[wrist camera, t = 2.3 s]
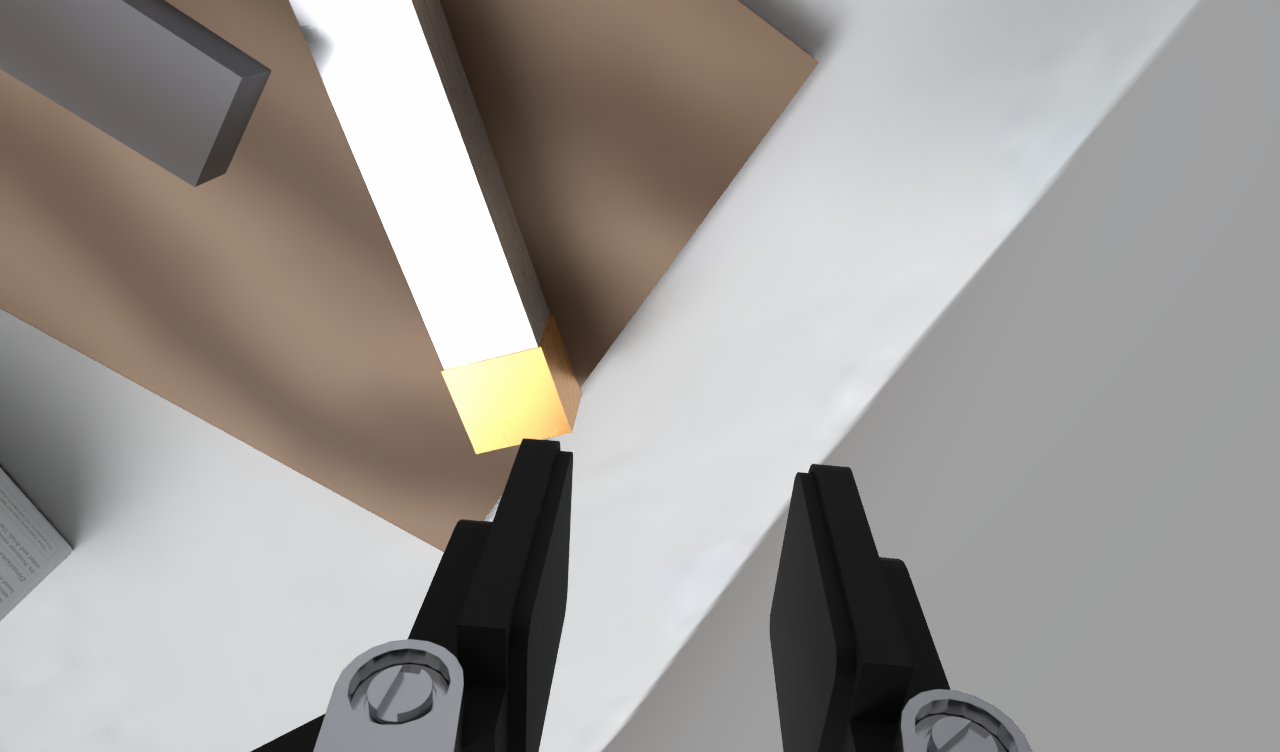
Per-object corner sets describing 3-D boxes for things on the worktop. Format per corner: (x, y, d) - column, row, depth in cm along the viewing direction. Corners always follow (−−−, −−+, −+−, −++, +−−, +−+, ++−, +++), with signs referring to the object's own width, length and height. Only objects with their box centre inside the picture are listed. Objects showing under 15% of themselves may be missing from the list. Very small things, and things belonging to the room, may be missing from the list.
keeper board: (119, -474, 21) (-178, -701, 14) (812, 56, 26) (859, 93, 18) (-81, 231, 30) (-328, 316, 22) (464, 534, 34) (404, 686, 27)
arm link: (219, -223, 22) (4, -309, 15) (374, -284, 21) (222, -403, 14) (480, 411, 30) (418, 545, 23) (599, 383, 29) (571, 513, 22)
